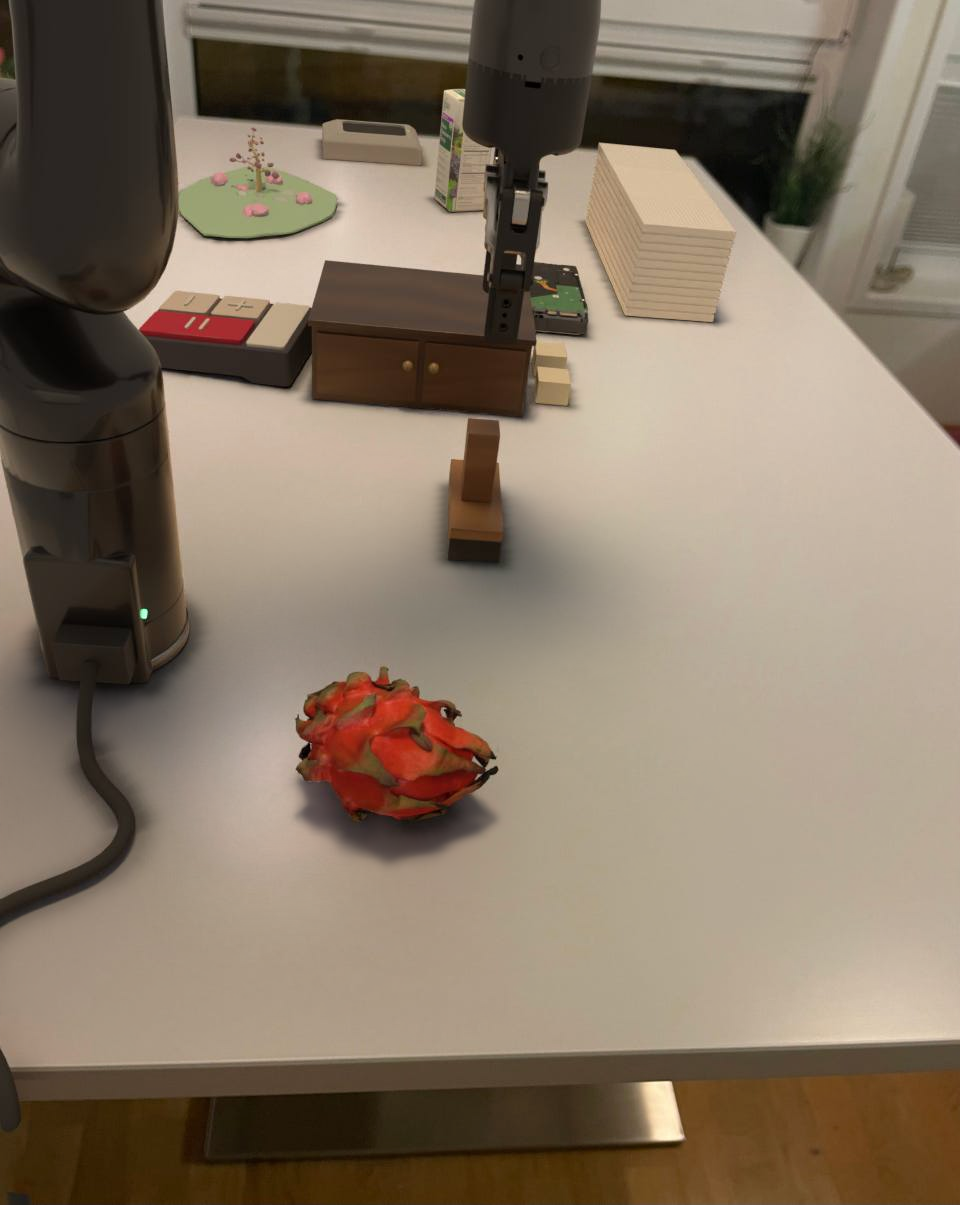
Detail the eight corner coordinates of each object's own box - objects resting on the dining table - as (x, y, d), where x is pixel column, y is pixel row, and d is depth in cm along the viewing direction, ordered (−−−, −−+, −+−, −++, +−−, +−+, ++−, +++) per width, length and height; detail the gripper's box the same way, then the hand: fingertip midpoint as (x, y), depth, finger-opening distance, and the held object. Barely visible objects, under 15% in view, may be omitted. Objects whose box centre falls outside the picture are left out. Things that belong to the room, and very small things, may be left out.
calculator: (171, 285, 103) (316, 300, 102) (177, 326, 106) (318, 340, 105) (129, 329, 95) (287, 345, 94) (137, 371, 97) (290, 387, 97)
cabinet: (525, 422, 96) (537, 343, 91) (307, 403, 95) (307, 322, 90) (518, 352, 108) (528, 279, 103) (324, 334, 107) (325, 259, 102)
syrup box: (432, 199, 145) (440, 88, 136) (470, 197, 147) (480, 88, 138) (448, 212, 141) (458, 99, 132) (486, 211, 143) (498, 99, 134)
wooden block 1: (536, 354, 103) (533, 376, 104) (567, 357, 103) (563, 378, 105) (534, 340, 105) (531, 362, 107) (565, 343, 106) (561, 364, 107)
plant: (331, 249, 126) (332, 173, 120) (160, 235, 123) (153, 157, 118) (339, 186, 145) (341, 118, 140) (192, 173, 143) (187, 104, 137)
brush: (498, 563, 78) (513, 463, 73) (447, 559, 78) (457, 458, 73) (494, 492, 86) (507, 397, 81) (448, 489, 86) (457, 393, 80)
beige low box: (322, 115, 160) (417, 123, 162) (322, 140, 162) (415, 147, 164) (323, 132, 152) (422, 140, 155) (323, 158, 155) (421, 165, 157)
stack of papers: (712, 322, 120) (736, 231, 114) (624, 315, 119) (643, 223, 112) (658, 229, 145) (675, 149, 138) (585, 222, 144) (598, 142, 137)
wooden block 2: (538, 380, 98) (535, 403, 100) (571, 383, 98) (567, 406, 100) (536, 366, 101) (533, 388, 102) (568, 369, 101) (565, 390, 102)
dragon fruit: (286, 771, 62) (471, 836, 62) (250, 805, 54) (464, 881, 53) (330, 640, 62) (517, 705, 61) (301, 654, 53) (517, 729, 53)
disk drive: (489, 280, 124) (495, 329, 112) (491, 257, 122) (498, 305, 110) (572, 287, 125) (588, 337, 113) (576, 264, 123) (592, 312, 111)
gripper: (468, 29, 66) (446, 273, 76) (469, 75, 55) (442, 354, 65) (582, 43, 67) (545, 284, 77) (606, 91, 55) (558, 366, 65)
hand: (498, 316), depth 71 cm, fingers open, 8 cm apart
